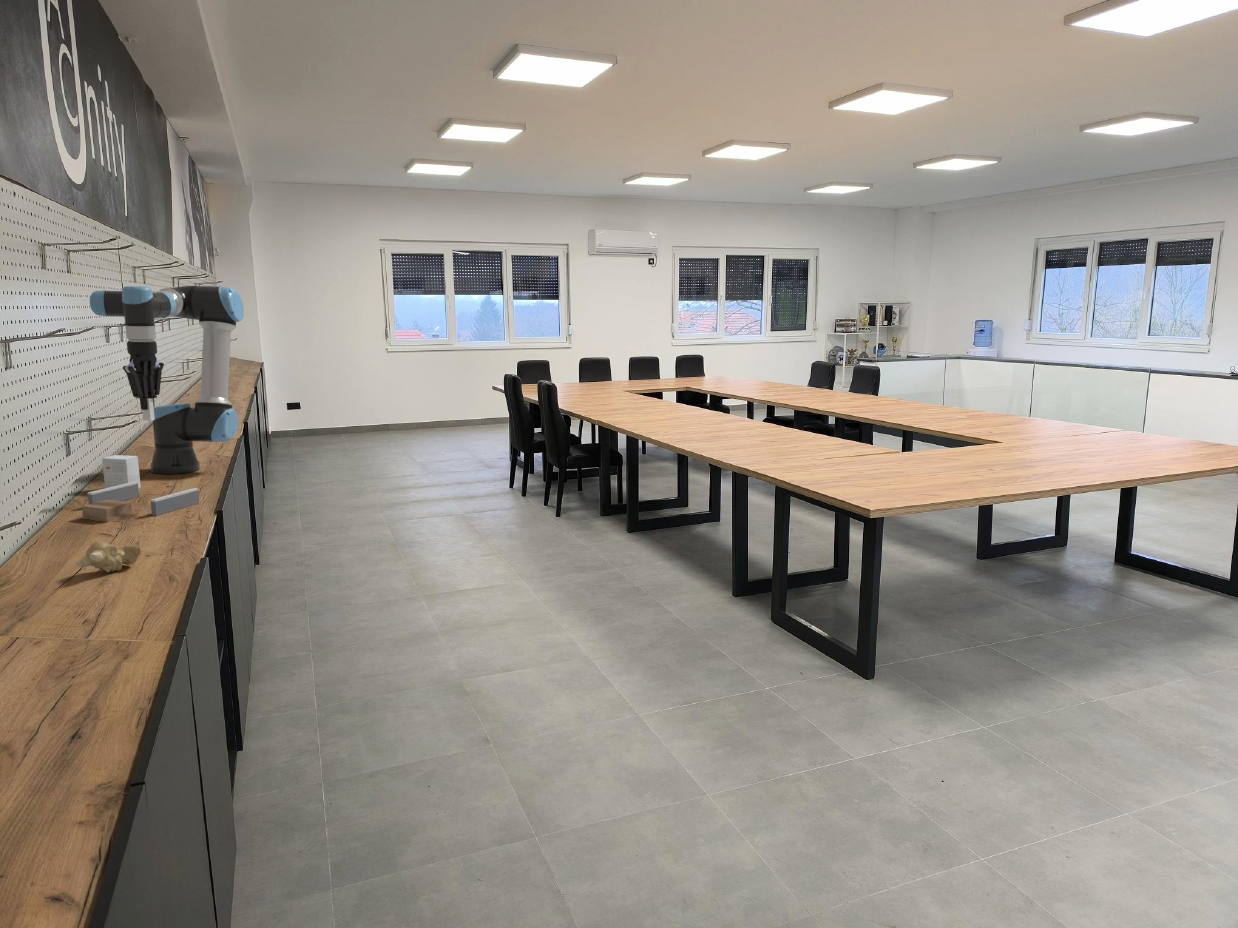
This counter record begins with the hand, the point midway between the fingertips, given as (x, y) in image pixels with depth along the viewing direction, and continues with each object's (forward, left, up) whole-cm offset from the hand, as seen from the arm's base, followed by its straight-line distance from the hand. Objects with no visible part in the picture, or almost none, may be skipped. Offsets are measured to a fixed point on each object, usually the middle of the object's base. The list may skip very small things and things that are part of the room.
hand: (148, 420), depth 239 cm
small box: (-4, -15, -24) cm, 29 cm away
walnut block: (+23, +7, -24) cm, 34 cm away
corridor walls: (+9, +6, -24) cm, 26 cm away
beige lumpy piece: (+57, +43, -24) cm, 76 cm away
